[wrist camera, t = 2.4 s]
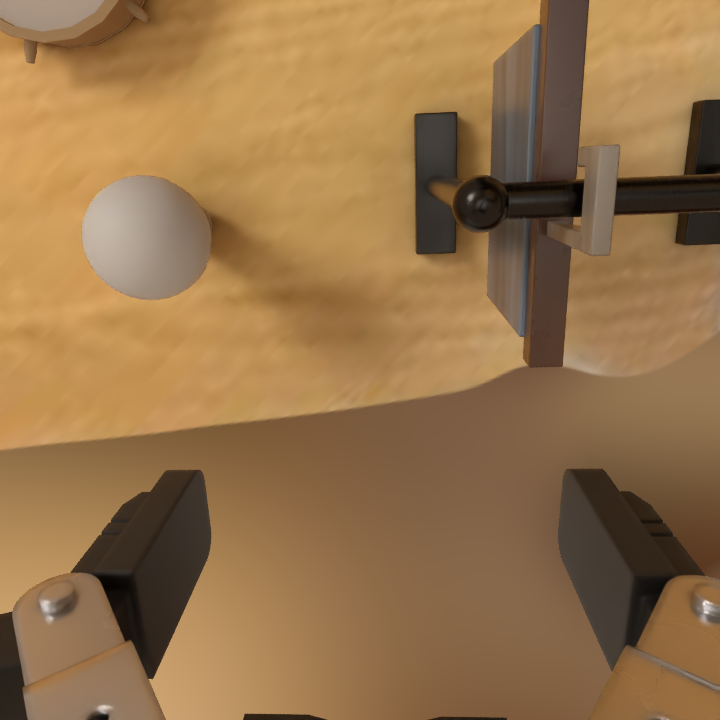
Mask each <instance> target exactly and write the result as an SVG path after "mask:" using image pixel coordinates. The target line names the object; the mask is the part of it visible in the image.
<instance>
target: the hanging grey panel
mask: <svg viewBox="0 0 720 720" xmlns="http://www.w3.org/2000/svg"><path fill="white" fill-rule="evenodd" d="M588 10H589V0H541V8H540V24H538V25H534V26H533V27H532V28H531V29H529V30H528V31H527V32H526V33H525V34H524V35H523V36H522V37H521V38H520V39H519V40H518V41H517V42H515V43H514V44H513V45H512V46H511V47H510V48H509V49H508V50H507V51H506V52H505V53H504V54H503V55H501V56H500V57H499V58H498V59H497V60H496V61H495V62H494V70H493V105H492V140H491V175H490V176H492V177H494V178H496V179H497V180H499V181H500V182H501V183H506V182H530V181H555V180H576V175H577V161H578V166H579V167H585V180H584V193H583V206H582V219H581V227H580V226H577V225H574V224H573V217H564V218H537V219H510V220H503V221H502V222H501V223H500V224H499V225H498V226H497V227H496V228H494V229H492V230H490V231H489V245H488V280H487V296H488V297H489V298H490V300H491V301H492V302H493V303H494V305H495V306H496V307H497V309H498V310H499V311H500V312H501V314H502V315H503V316H504V317H505V319H506V320H507V321H508V323H509V324H510V325H511V326H512V328H513V329H514V330H515V331H516V333H517V334H518V335H519V336H520V337H524V349H523V359H524V361H525V362H526V363H527V365H528V366H529V367H531V368H532V367H562V366H563V354H564V341H565V327H566V313H567V299H568V285H569V272H570V258H571V247H572V248H574V249H577V250H579V251H581V252H584V253H586V254H588V255H590V256H608V255H610V250H611V239H612V229H613V218H614V207H615V196H616V186H617V175H618V164H619V154H620V145H599V146H588V147H580V148H579V134H580V120H581V106H582V92H583V79H584V65H585V51H586V37H587V24H588ZM578 148H579V154H578Z"/></svg>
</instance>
